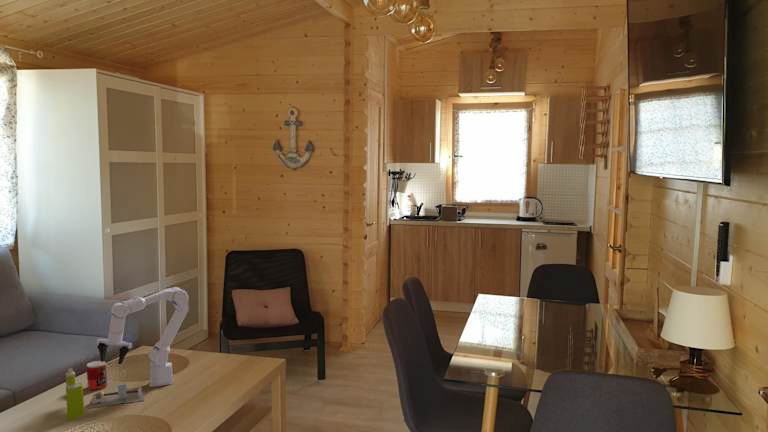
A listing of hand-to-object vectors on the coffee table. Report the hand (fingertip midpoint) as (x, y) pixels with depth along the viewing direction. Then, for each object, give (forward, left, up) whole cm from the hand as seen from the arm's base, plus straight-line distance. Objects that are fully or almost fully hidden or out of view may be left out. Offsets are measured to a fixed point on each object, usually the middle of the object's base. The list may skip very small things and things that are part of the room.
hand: (111, 362), depth 249 cm
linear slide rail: (-2, +8, -14) cm, 16 cm away
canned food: (+8, -11, -14) cm, 19 cm away
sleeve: (-4, +8, -13) cm, 16 cm away
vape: (+12, +20, -14) cm, 27 cm away
